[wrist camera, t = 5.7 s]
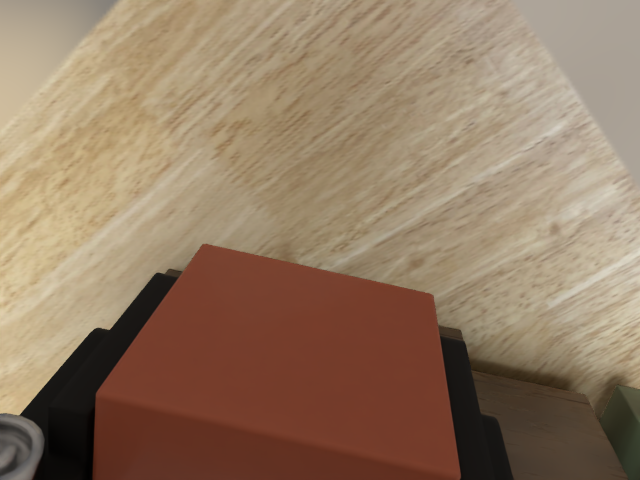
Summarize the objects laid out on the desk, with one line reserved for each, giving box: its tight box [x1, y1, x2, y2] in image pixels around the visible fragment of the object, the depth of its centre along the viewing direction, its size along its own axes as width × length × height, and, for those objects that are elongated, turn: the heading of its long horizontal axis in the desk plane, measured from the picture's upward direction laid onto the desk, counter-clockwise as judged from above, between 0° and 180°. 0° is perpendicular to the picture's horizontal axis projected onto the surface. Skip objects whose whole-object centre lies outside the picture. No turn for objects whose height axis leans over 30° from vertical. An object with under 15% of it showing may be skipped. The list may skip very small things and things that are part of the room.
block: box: [93, 244, 461, 480], centre depth 10 cm, size 4×4×4 cm
